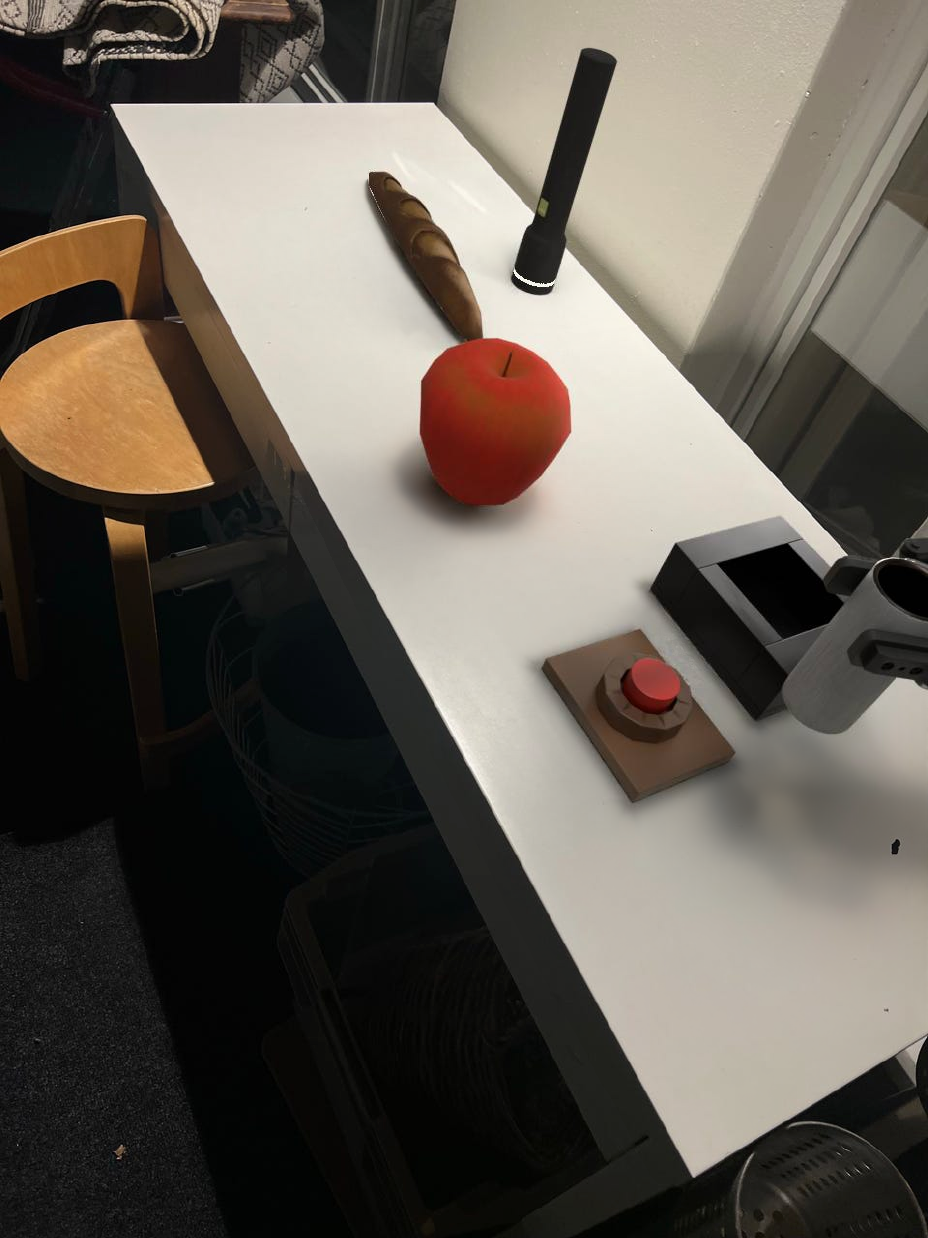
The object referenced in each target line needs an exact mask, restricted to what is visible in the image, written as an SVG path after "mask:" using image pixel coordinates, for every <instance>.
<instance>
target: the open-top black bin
mask: <svg viewBox="0 0 928 1238" xmlns="http://www.w3.org/2000/svg"><path fill="white" fill-rule="evenodd" d="M831 567H832V566H831V565H830V564H829V563H828V562H827V561H826V560H825V559H824V558H823V557H822V556H821V554H819V553H818V552H817V551H816V549H814V548H813V547H812V546H811V544H809V543H808V541H806V540H805V538H804V537H803V536H802V535H801V534H800V533H799V532H798V531H797V530H796V529H795V528H794V527H793V526H792V525H791V524H790V523H789V522H788V521H787V520H786V519H785V517H783V515H781V514H778V515H775V516H770V517H768V518H764V519H759V520H756V521H752V522H749V523H745V524H741V525H737V526H734V527H733V526H732V527H730V528H726V529H722V530H719V531H714V532H710V533H706V534H703V535H699V536H695V537H692V538H688V539H684V540H680V541H676V542H675V543H674V544H673V546H672V547H671V549H670V551H669V553H668V555H667V556H666V558H665V559H664V562H663V564H662V566H661V568H660V570H659V571H658V573H657V575H656V576H655V579H654V581H653V582H652V584H651V586H650V587H649V590H650V592H651V593H652V594H653V596H655V598H656V599H657V600H658V601H659V603H660V604H661V605H662V606H663V608H664V609H665V610H666V612H668V614H669V615H670V616H671V618H672V619H673V620H674V622H676V624H677V625H678V626H679V627H680V629H681V630H682V631H683V633H684V634H685V635H686V637H688V639H689V640H690V641H691V643H693V645H694V646H695V648H696V649H697V650H698V652H700V654H701V655H702V656H703V657H704V659H705V660H706V661H707V662H708V664H709V665H710V666H711V667H712V669H713V670H714V671H715V672H716V674H717V675H718V676H719V677H720V678H721V679H722V681H723V682H724V683H725V684H726V686H727V687H728V688H729V690H730V691H731V692H732V694H733V695H734V696H735V697H736V698H737V700H739V702H740V703H741V704H742V706H743V707H744V708H745V709H746V711H747V712H748V713H749V715H750V716H751V717H752V718H753V719H754V721H759V720H762V719H764V718H766V717H769V716H771V715H774V714H776V713H779V712H781V711H784V710H786V709H788V708H787V706H786V704H785V702H784V699H783V695H782V687H783V684H784V682H785V680H786V679H787V677H788V676H789V674H790V673H791V672H792V671H793V669H794V668H795V667H796V665H797V664H798V663H799V662H800V660H801V659H802V658H803V656H804V655H805V654H806V653H807V651H808V650H809V649H810V647H811V646H812V645H813V644H814V642H815V641H816V640H817V638H818V637H819V636H820V635H821V633H822V632H823V631H824V629H825V628H826V627H827V625H828V624H829V623H830V622H831V620H832V619H833V618H834V616H835V615H836V614H837V613H838V611H839V610H840V609H841V607H842V606H843V605H844V604H845V602H846V601H847V600H848V598H849V597H850V596H844V595H838V594H832V593H829V592H827V591H826V588H825V585H824V582H823V578H824V576H825V575H826V574H827V572H828V571H829V570H830V568H831Z"/></svg>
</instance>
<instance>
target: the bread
mask: <svg viewBox="0 0 928 1238" xmlns="http://www.w3.org/2000/svg"><path fill="white" fill-rule="evenodd" d="M369 172H370V173H369ZM369 172H368V173H369V184H368V187H369V186H370V188H371V190H372V192H373V194H374V197H375V199H376V201H377V204H378V206H379V208H380V210H381V212H382V214H383V216H384V218H385V220H386V222H387V224H388V225H387V224H386V225H387V227H388V226H389V227H388V229H389V228H390V229H389V231H390V230H391V231H390V233H391V232H392V233H391V235H392V234H393V235H392V237H393V238H394V237H395V238H394V240H395V239H396V240H395V241H396V243H397V242H398V243H397V245H398V244H399V245H398V247H399V248H400V250H401V249H402V250H401V251H402V253H403V252H404V253H403V255H404V254H405V255H404V256H405V258H406V259H407V261H408V262H410V263H409V264H410V266H411V268H412V269H413V271H414V272H415V271H416V272H415V273H416V275H417V274H418V275H417V276H418V278H419V279H420V281H421V280H422V281H421V283H422V284H423V283H424V284H423V285H424V287H425V286H426V287H425V289H426V290H427V289H428V290H427V291H428V293H429V292H430V293H429V295H432V296H433V297H432V296H431V297H432V299H433V300H434V299H435V300H436V301H437V302H436V301H435V300H434V301H435V303H436V304H437V303H438V304H439V305H438V304H437V306H438V307H439V306H440V307H441V308H442V309H441V308H440V307H439V308H440V310H441V311H442V310H443V311H442V313H443V314H444V315H445V317H446V319H447V320H448V321H449V323H450V324H451V325H452V327H453V328H454V329H455V330H456V332H457V333H459V335H460V336H461V337H462V338H463V339H464V340H465V342H468V341H472V340H475V339H479V338H484V332H483V331H484V330H483V318H482V317H483V316H482V311H481V309H480V308H481V307H480V306H479V304H478V300H477V298H476V295H475V294H474V291H473V288H472V285H471V283H470V281H469V278H468V275H467V273H466V271H465V269H464V267H462V266H461V265H462V264H461V263H460V260H459V257H458V254H457V251H456V250H455V248H454V245H453V243H452V241H451V240H450V238H449V236H448V235H447V233H446V232H445V231H444V230H443V229H442V228H440V226H438V225H437V224H436V223H435V221H434V219H433V218H432V217H433V216H432V214H431V212H430V211H429V209H428V208H427V206H426V205H425V204H424V203H423V202H422V201H421V200H420V199H419V198H418V197H417V196H415V195H412V194H410V193H409V191H407V190H405V188H403V185H402V184H401V182H400V181H399V180H398V179H396V177H395V176H393V175H392V174H391V173H389V172H388V171H369ZM377 204H376V205H377ZM378 206H377V207H378ZM379 208H378V209H379ZM380 210H379V211H380ZM381 212H380V213H381ZM382 214H381V215H382ZM383 216H382V217H383ZM384 218H383V219H384ZM385 220H384V221H385ZM386 222H385V223H386Z"/></svg>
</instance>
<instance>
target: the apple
mask: <svg viewBox="0 0 928 1238" xmlns="http://www.w3.org/2000/svg"><path fill="white" fill-rule="evenodd" d="M569 392H570V391H569V388H568V387H567V386H566V384H565V383H564V382H563V380H562V379H561V377H560V375H558V373H557V372H556V370H555V369H554V368H553V367H552V366H551V364H550V363H549V362H548V361H547V360H546V359H544V358H542V357H541V356H540V355H538V354H537V353H536V352H534V351H533V350H530V349H528V348H527V347H525V346H523V345H520V344H519V343H516V342H513V341H509V340H507V339H503V338H499V337H483V338H479V339H475V340H472V341H468V342H467V341H464V342H462V343H459V344H456V345H454V346H451V347H448V348H446V349H445V350H444V351H443V352H442V353H441V354H439V355H438V356H437V357H436V358H435V359H434V360H433V362H432V363H431V365H430V366H429V368H428V369H427V371H426V372H425V374H424V376H423V377H422V379H421V380H420V406H419V407H420V409H419V410H420V411H419V414H420V415H419V436H420V439H421V443H422V447H423V450H424V453H425V456H426V460H427V463H428V467H429V469H430V472H431V474H432V476H433V478H434V481H435V483H437V484H438V485H439V486H440V487H441V489H443V490H444V491H445V492H446V493H447V494H448V495H449V496H450V497H452V498H453V499H454V500H456V501H457V502H459V503H461V504H462V505H464V506H469V507H473V508H476V507H477V508H478V507H491V506H503V505H506V504H508V503H510V502H512V501H514V500H516V499H518V498H519V497H520V496H521V495H522V494H523V493H524V492H525V491H527V490H528V489H529V488H530V487H531V486H532V485H533V484H534V483H535V482H537V481H538V480H539V479H540V478H541V477H542V476H543V475H544V473H545V472H546V471H547V470H548V469H549V467H550V466H551V465H552V463H553V462H554V461H555V459H556V457H557V455H558V454H559V452H560V451H561V449H562V447H563V446H564V445H565V443H566V441H567V440H568V438H569V437H570V435H571V433H572V410H571V407H572V406H571V399H570V393H569Z"/></svg>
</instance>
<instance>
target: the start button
mask: <svg viewBox="0 0 928 1238" xmlns="http://www.w3.org/2000/svg"><path fill="white" fill-rule="evenodd" d="M667 664H668V663H667ZM667 664H665V663H664V662H662V661H659V660H656V659H651V658H646V659H641V660H639V661H637V662H636V663H635V664H634V665H633V666H632V668H631V670H630V672H629V673H628V675H627V677H626V678H625V680H624V683H623V692H624V695H625V697H626V699H627V700H628V701H629V703H630V704H631V705H633V706H634V707H636V708H638V709H639V710H641V711H643V712H645V713H649V714H659V713H662V712H664V711H666V710H667V709H668V708H669V706H670V705H671V703H672V702H673V700H674V699H675V697H676V696H677V694H678V693H679V691H680V680H679V678H678V676H677V674H676V673H675V671H674V670H673V669H672V668H671V667H670V666H671V665H670V666H668V665H669V664H668V665H667Z"/></svg>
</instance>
